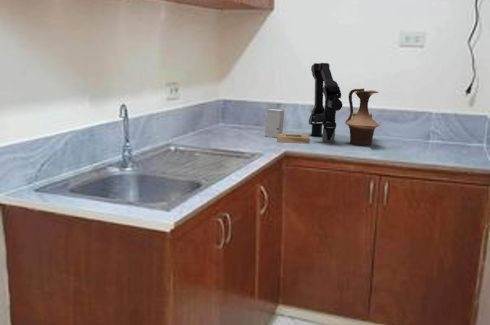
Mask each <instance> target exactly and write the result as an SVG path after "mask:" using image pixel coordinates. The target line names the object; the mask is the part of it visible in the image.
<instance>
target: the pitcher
mask: <svg viewBox="0 0 490 325" xmlns="http://www.w3.org/2000/svg"><path fill="white" fill-rule="evenodd" d="M354 93H355V95H356V96H357V98H358V99H359V108H358V110H357V111H356V112H357V114H356V115H355V116H354V117H353V112H354V105H353V94H354ZM378 93H379V91H377V90H365V88H353V89H351V90H350V91H349V93H348V103H349V109H350V112H349V113H350V114H349V116H348V118H347V119H346V120H345V122H344V124H346V125H347V126H348V128H349V144H352V145H357V146H372V145H373V144H372V143H373V138H374V132H375V130H376V128H377V127H380V126H381V125H380V124H379V123H378V122H377V121H376V120H374V118H373V117H372V118H371V116H370V114H369V113H370V112H369V102H370V98H371V96H373V95H374V94H378Z"/></svg>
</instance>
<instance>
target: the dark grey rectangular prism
mask: <svg viewBox="0 0 490 325" xmlns="http://www.w3.org/2000/svg"><path fill="white" fill-rule="evenodd" d="M335 137H336V129H335V130H334V132H333V135H332V137H331V139H330V140H327V132H326V130H325V129H324V127H322V143H324V144H334V143H335Z"/></svg>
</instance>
